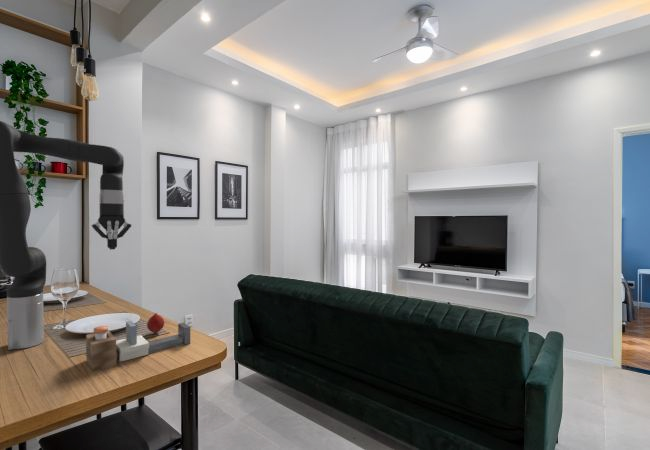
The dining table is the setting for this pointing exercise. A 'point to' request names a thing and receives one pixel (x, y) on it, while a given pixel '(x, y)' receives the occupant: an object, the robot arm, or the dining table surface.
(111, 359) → the wooden block holder
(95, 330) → the white orange cylinder
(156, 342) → the rail
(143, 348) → the carriage
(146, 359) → the dining table surface
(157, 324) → the onion
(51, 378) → the dining table surface
